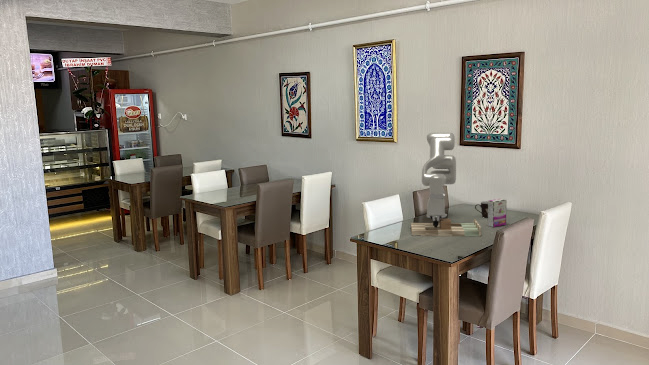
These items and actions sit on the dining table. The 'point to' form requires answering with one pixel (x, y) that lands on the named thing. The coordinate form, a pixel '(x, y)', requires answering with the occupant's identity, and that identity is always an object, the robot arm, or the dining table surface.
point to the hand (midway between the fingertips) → (435, 226)
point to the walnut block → (445, 224)
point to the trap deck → (455, 230)
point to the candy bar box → (497, 212)
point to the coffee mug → (483, 209)
